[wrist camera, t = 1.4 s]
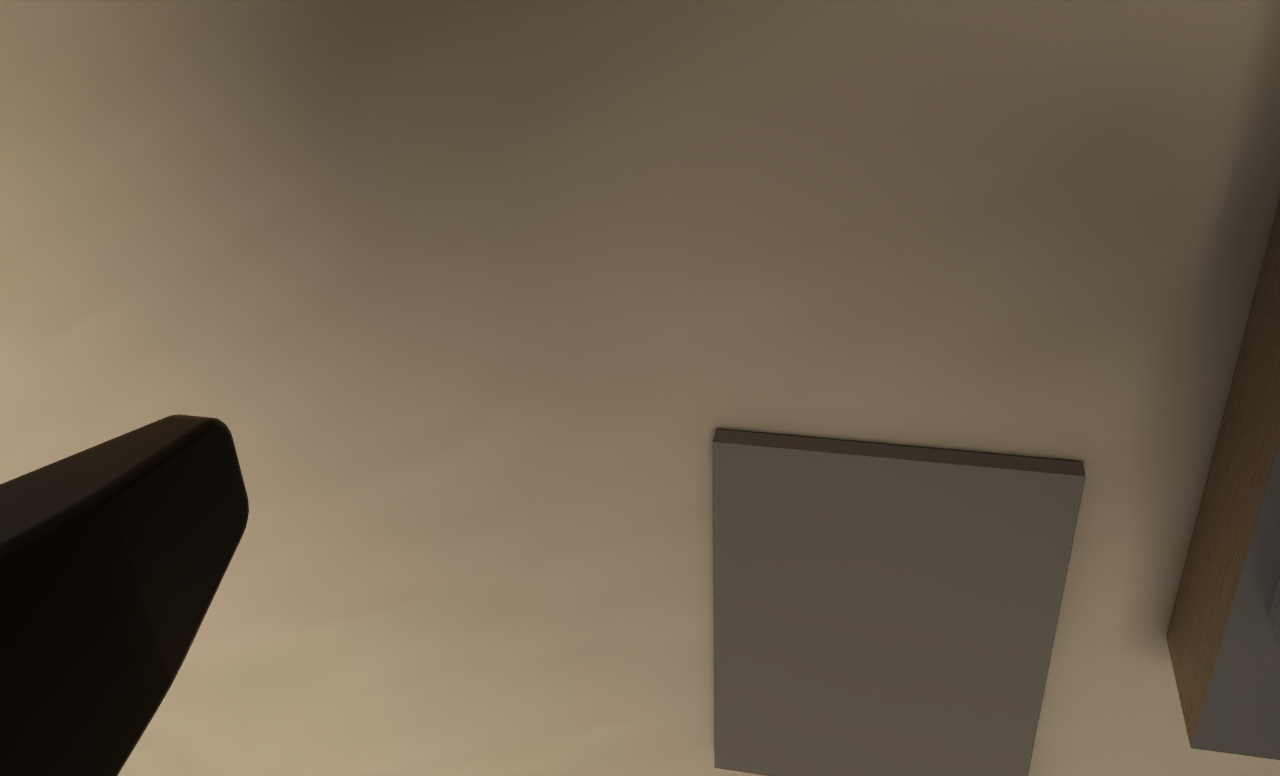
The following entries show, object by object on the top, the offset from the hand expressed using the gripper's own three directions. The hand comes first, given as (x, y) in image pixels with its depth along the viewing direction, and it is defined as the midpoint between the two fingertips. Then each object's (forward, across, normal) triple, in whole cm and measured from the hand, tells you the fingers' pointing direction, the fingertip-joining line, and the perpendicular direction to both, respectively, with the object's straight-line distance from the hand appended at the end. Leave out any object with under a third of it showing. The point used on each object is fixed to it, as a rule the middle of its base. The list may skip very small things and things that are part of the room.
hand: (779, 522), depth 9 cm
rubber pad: (+10, -1, +10) cm, 14 cm away
